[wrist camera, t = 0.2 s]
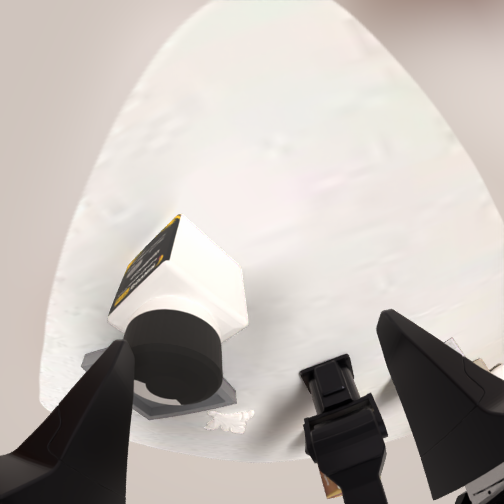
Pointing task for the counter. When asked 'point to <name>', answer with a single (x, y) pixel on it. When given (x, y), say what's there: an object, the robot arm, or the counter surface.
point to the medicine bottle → (179, 314)
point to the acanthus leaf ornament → (229, 421)
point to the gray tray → (159, 410)
